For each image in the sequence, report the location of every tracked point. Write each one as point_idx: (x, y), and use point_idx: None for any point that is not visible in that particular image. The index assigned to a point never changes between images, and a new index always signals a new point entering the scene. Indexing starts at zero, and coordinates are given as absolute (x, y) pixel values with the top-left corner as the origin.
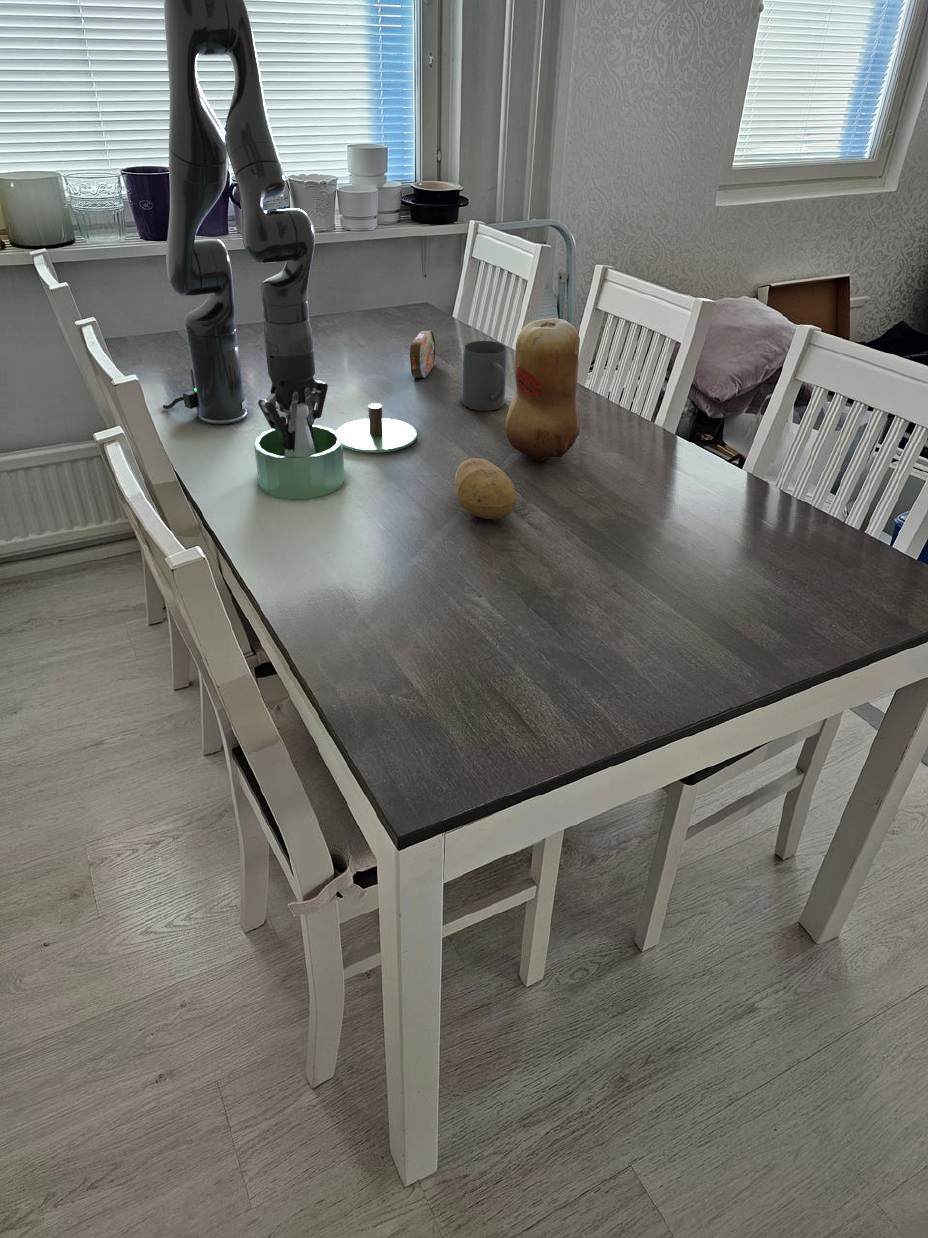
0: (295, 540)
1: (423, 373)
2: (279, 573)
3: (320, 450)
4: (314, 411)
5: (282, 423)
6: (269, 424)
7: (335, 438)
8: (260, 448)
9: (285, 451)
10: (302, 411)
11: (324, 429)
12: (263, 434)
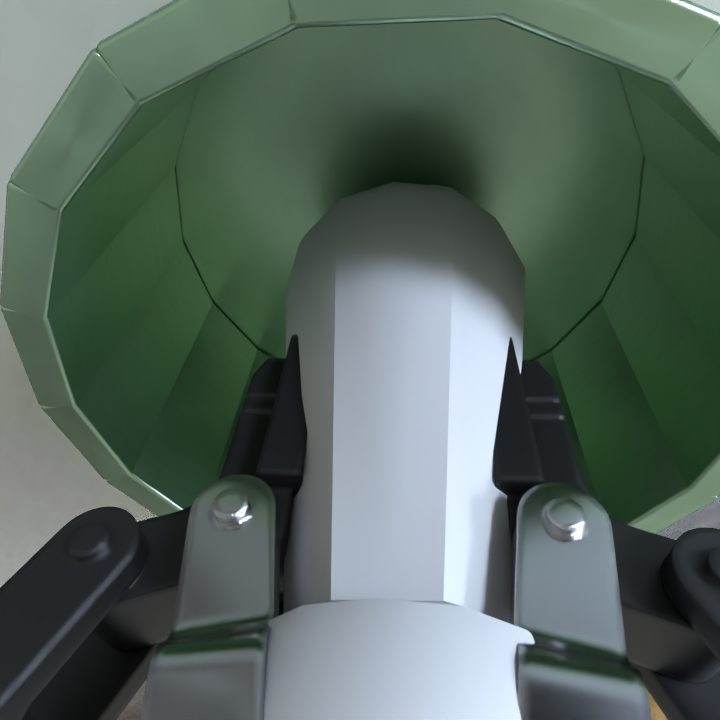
0: (101, 502)
1: None
2: (3, 552)
3: (680, 224)
4: (664, 670)
5: (129, 680)
6: (25, 569)
7: (646, 488)
8: (38, 315)
9: (297, 315)
10: None
11: None
12: (215, 37)
